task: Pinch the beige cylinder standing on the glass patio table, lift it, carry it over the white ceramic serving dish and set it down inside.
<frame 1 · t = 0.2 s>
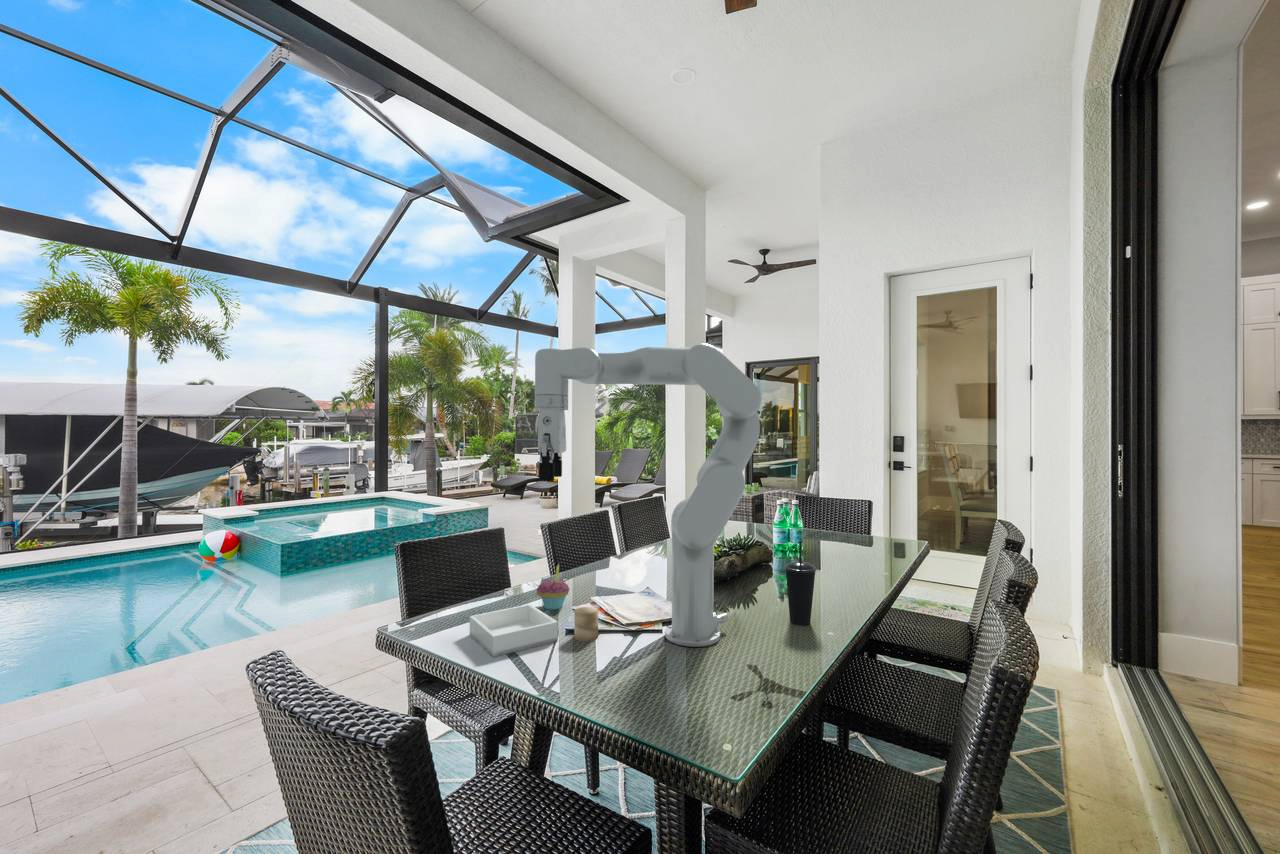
hand: (550, 478, 127), 36 cm above the table, tool pointing down, fingers open, 9 cm apart
cupcake: (552, 607, 149), on the table
drinking cup: (800, 622, 138), on the table
beige cylinder: (586, 636, 128), on the table
serving dish: (513, 637, 127), on the table
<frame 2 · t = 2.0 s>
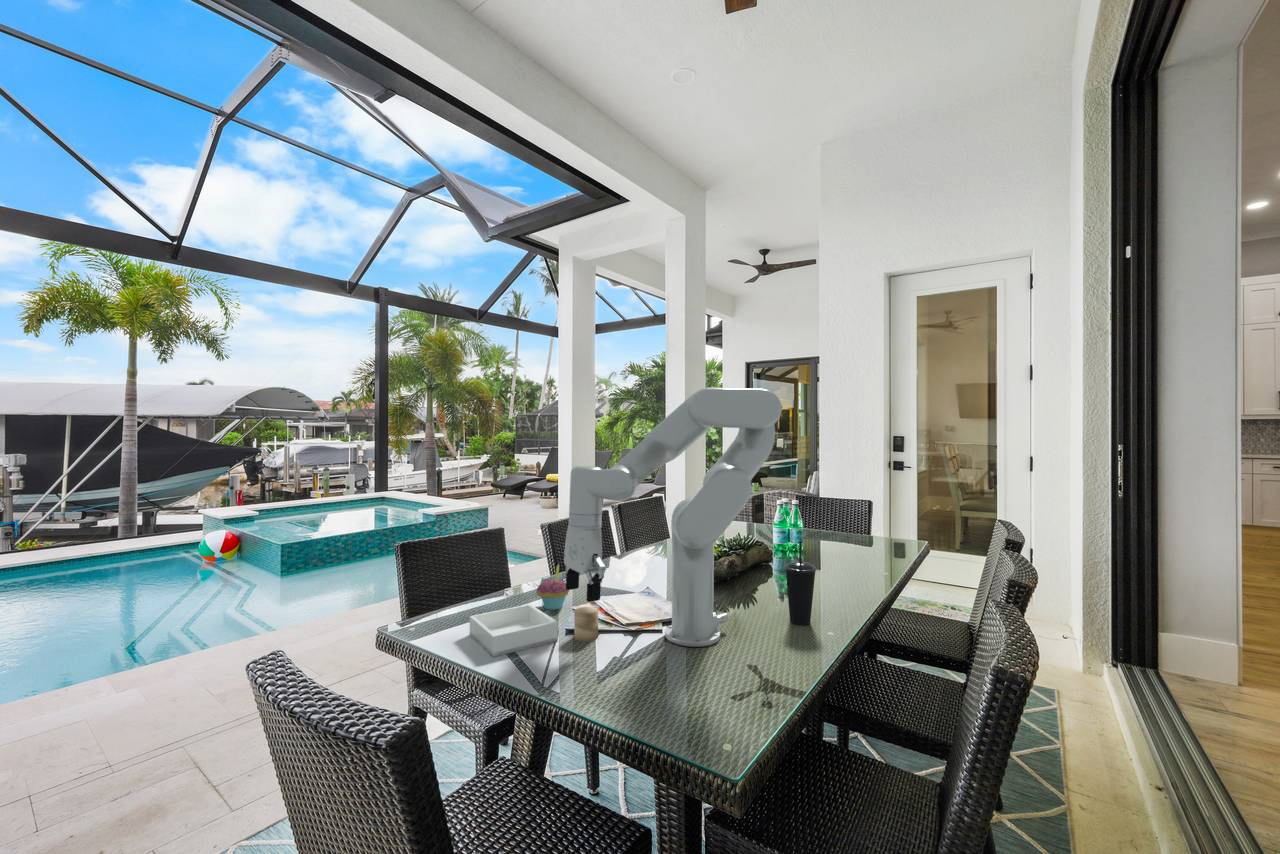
hand: (582, 594, 128), 10 cm above the table, tool pointing down, fingers open, 9 cm apart
nothing on the table moved.
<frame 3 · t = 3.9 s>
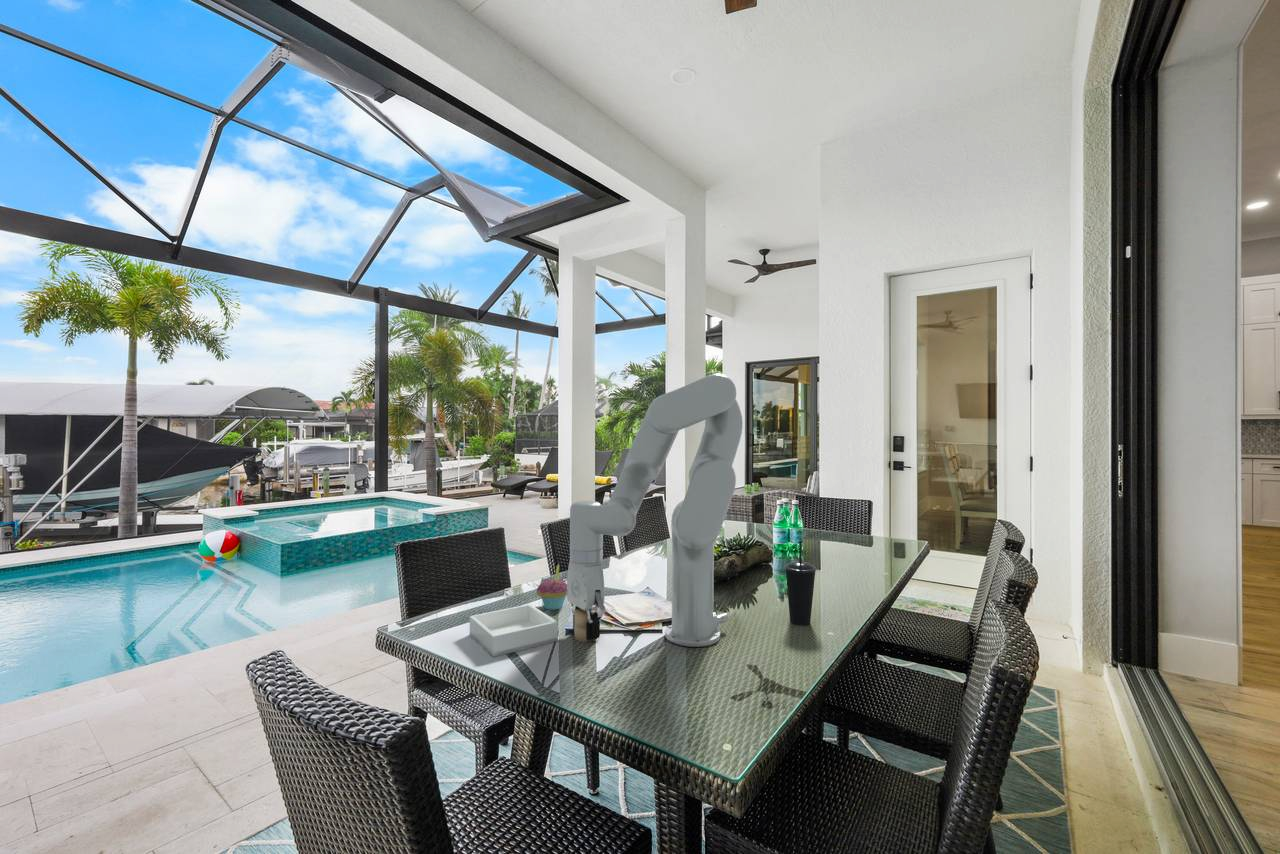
hand: (586, 633, 128), 1 cm above the table, tool pointing down, fingers closed on beige cylinder, 5 cm apart
beige cylinder: (586, 636, 128), on the table, touching gripper
everything else where it was.
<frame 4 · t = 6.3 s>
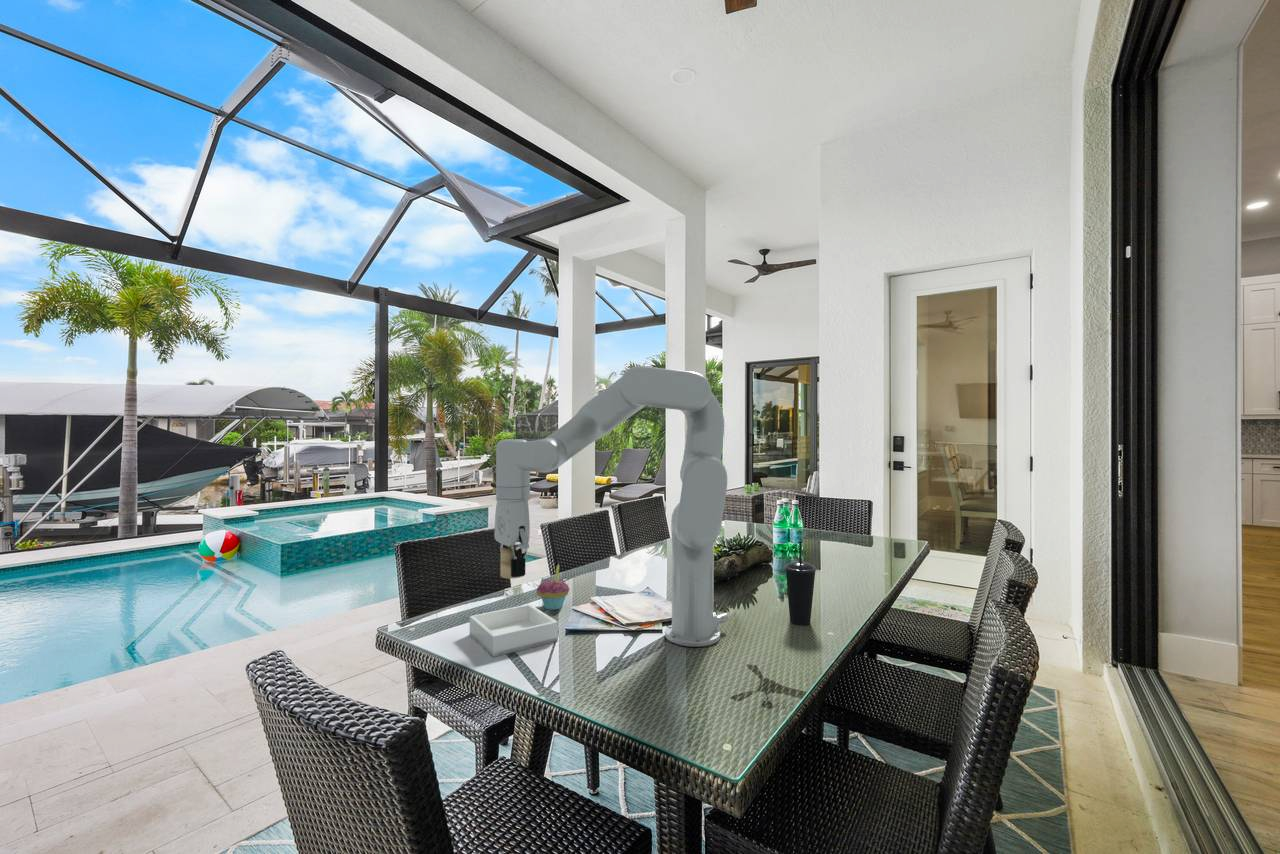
hand: (512, 572, 127), 15 cm above the table, tool pointing down, fingers closed on beige cylinder, 5 cm apart
beige cylinder: (512, 575, 127), point 14 cm above the table, touching gripper
everything else where it was.
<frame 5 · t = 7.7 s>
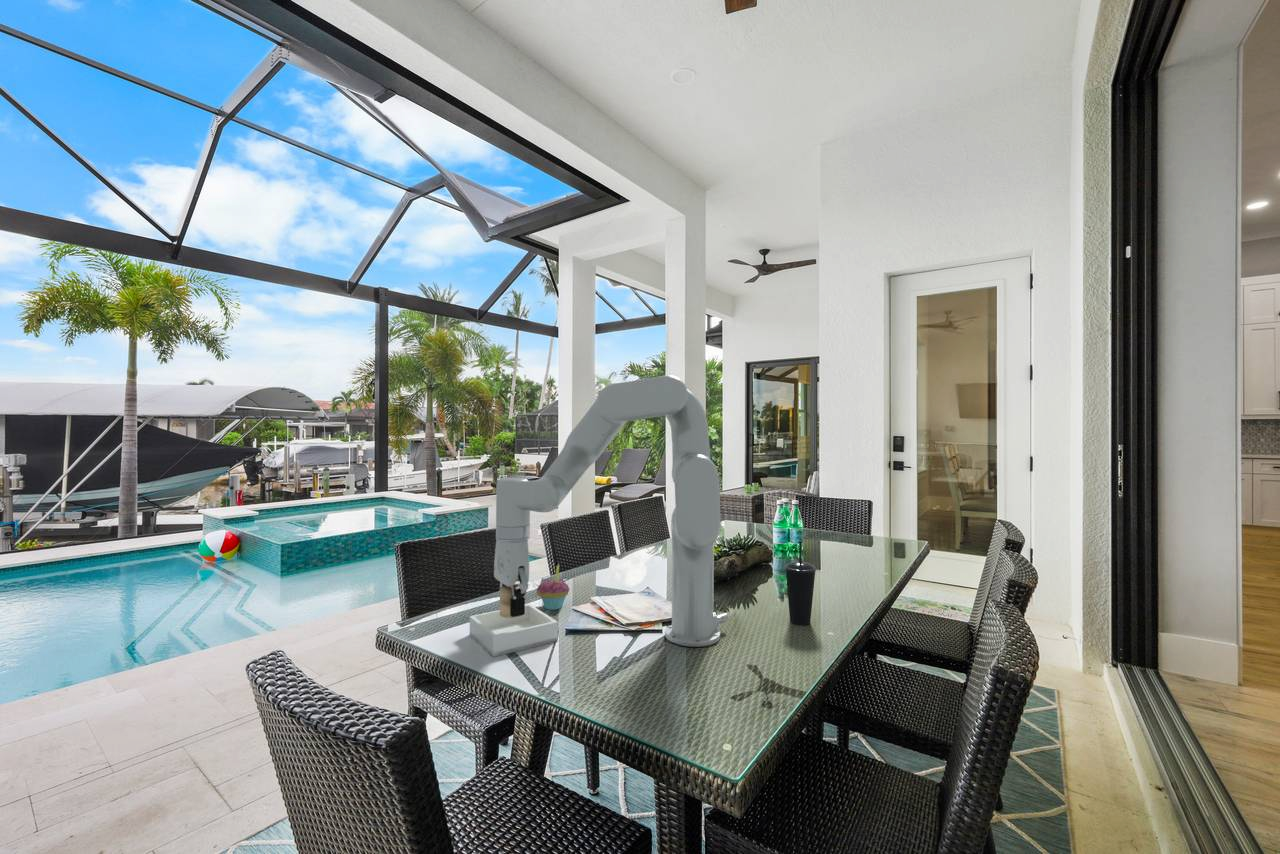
hand: (512, 610, 127), 6 cm above the table, tool pointing down, fingers closed on beige cylinder, 5 cm apart
beige cylinder: (511, 613, 127), point 5 cm above the table, touching gripper
everything else where it was.
when the fingers open (4 cm above the table, at t = 9.0 s): beige cylinder drops 2 cm, resting on serving dish.
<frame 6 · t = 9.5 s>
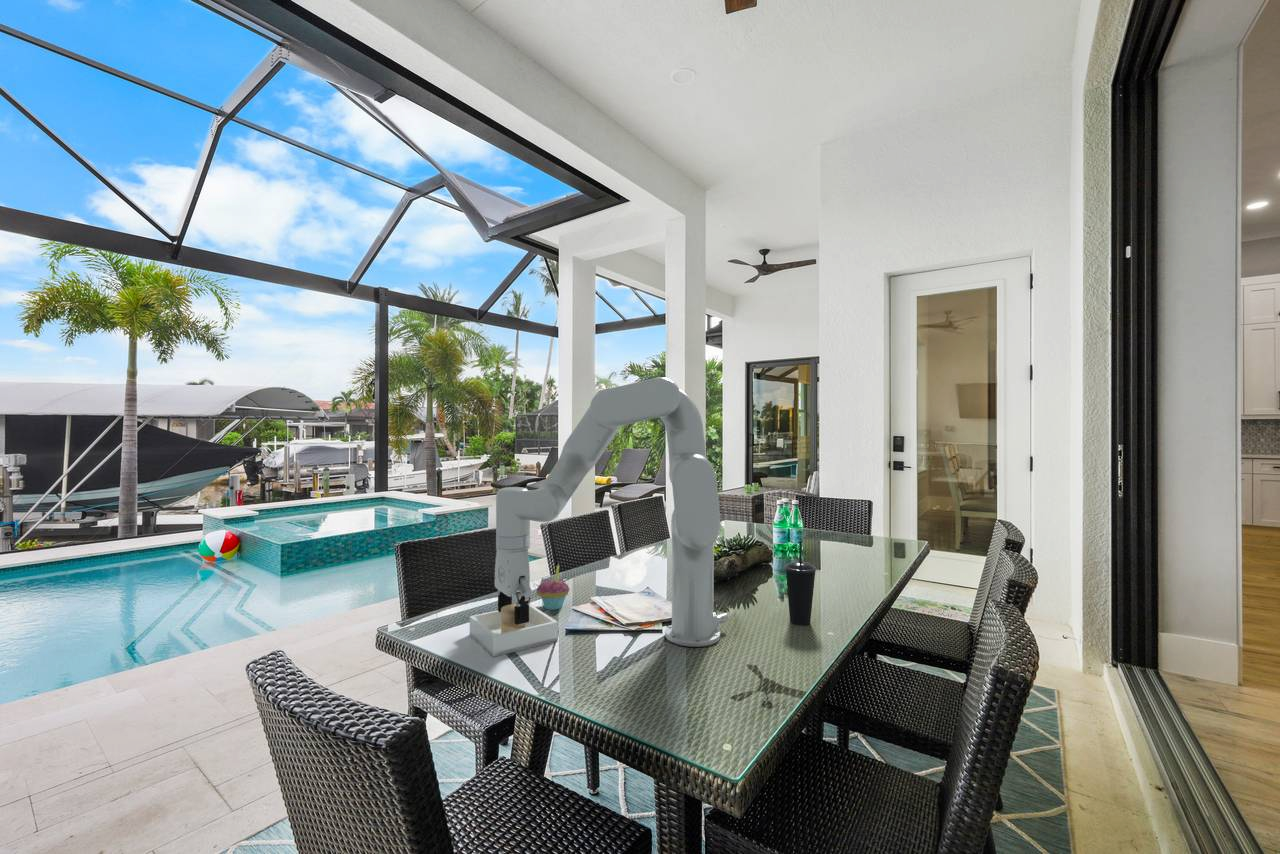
hand: (513, 616, 127), 5 cm above the table, tool pointing down, fingers open, 9 cm apart
beige cylinder: (513, 634, 127), point 1 cm above the table, touching serving dish
everything else where it was.
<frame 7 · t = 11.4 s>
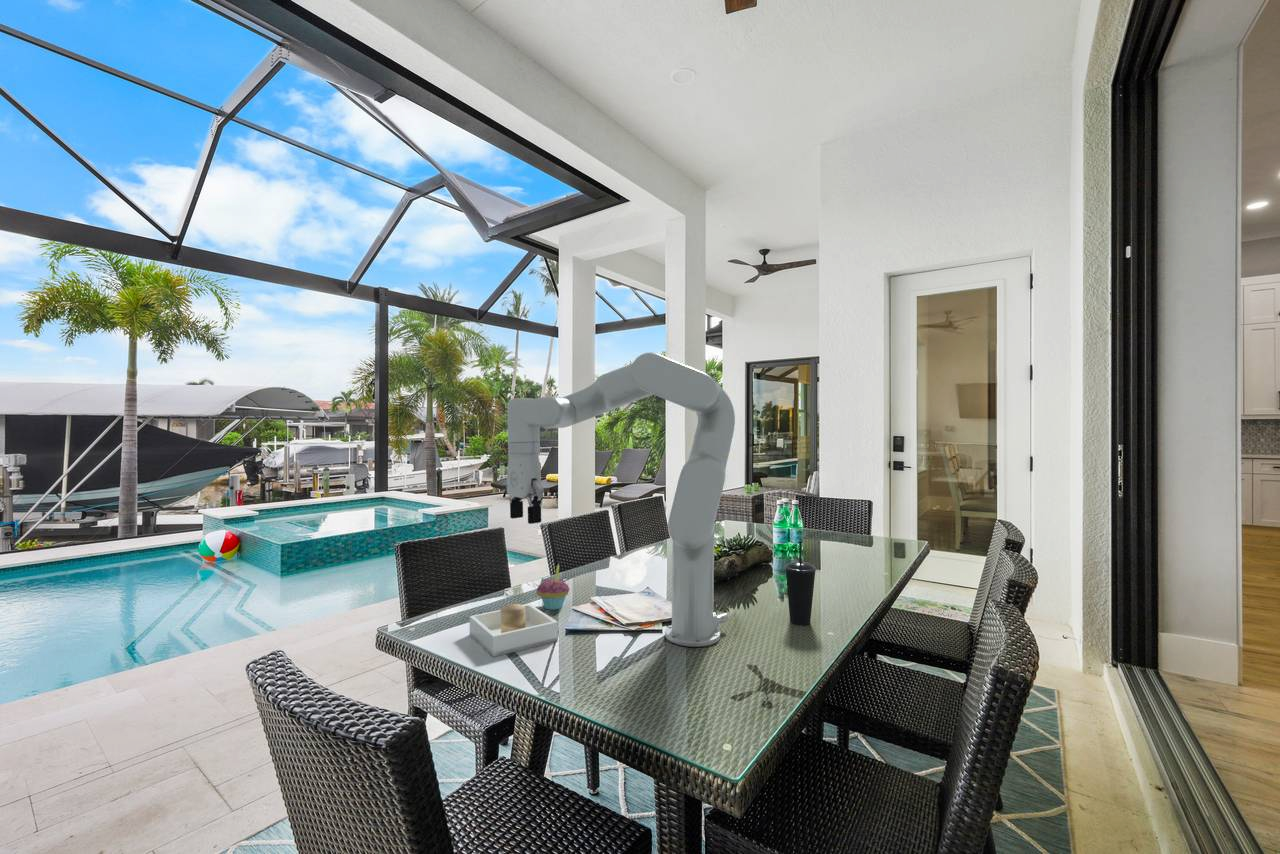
hand: (525, 520, 135), 25 cm above the table, tool pointing down, fingers open, 9 cm apart
nothing on the table moved.
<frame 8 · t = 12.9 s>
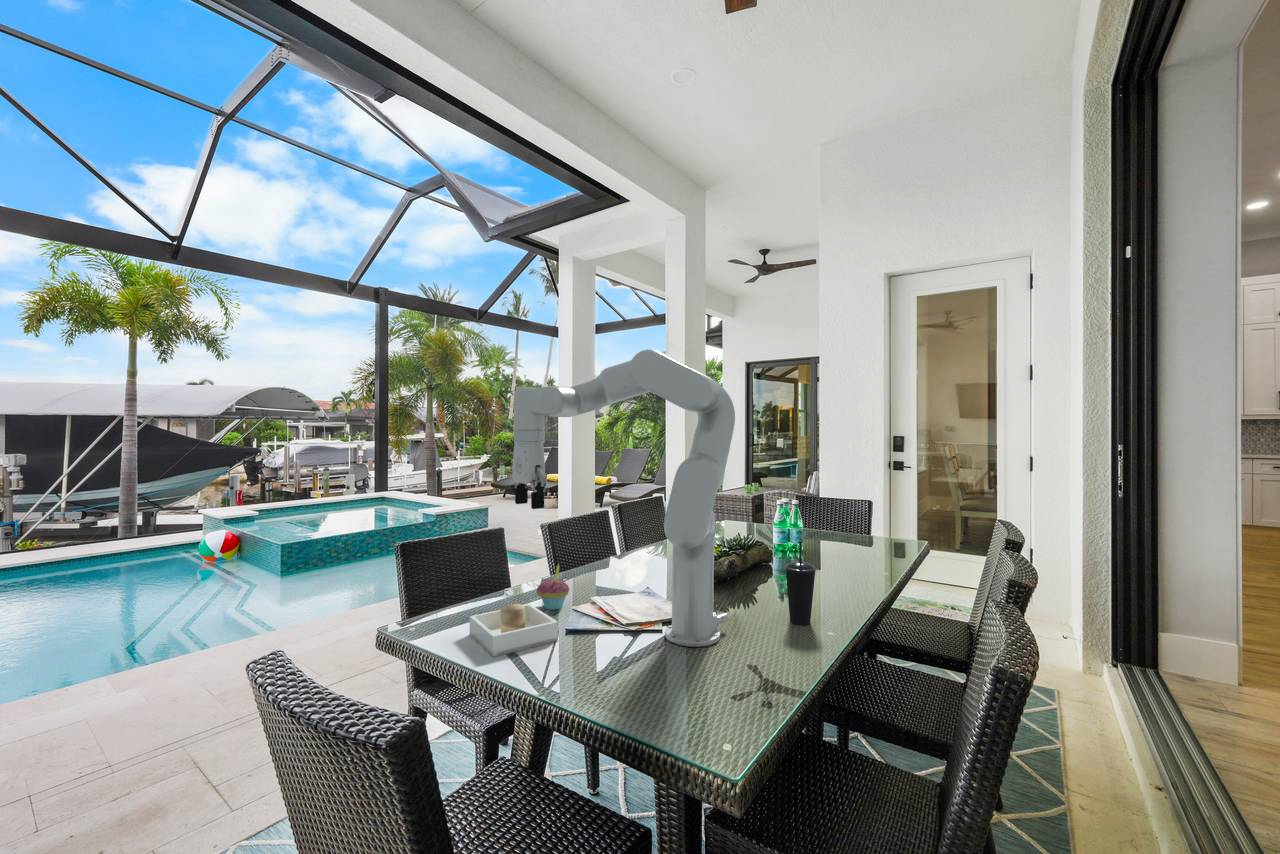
hand: (529, 505, 139), 28 cm above the table, tool pointing down, fingers open, 9 cm apart
nothing on the table moved.
at the end: beige cylinder inside the target area on the serving dish (0.0 cm from its centre), point 0.8 cm above the serving dish's base; beige cylinder tilted 1°; the gripper is holding nothing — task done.
